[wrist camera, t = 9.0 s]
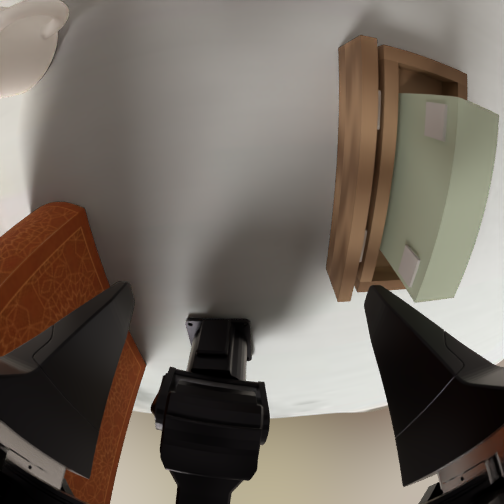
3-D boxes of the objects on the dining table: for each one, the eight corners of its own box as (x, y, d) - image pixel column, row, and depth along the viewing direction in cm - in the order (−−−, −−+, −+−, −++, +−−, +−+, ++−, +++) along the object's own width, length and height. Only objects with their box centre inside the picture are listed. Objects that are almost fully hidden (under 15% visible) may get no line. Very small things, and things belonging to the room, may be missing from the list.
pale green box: (411, 245, 20) (453, 297, 14) (375, 245, 20) (412, 303, 14) (433, 103, 14) (498, 114, 8) (392, 92, 14) (455, 96, 8)
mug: (98, -18, 10) (22, -51, 1) (96, 58, 14) (-1, 52, 5) (7, 39, 10) (-65, 45, 1) (7, 106, 14) (-71, 132, 6)
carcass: (427, 264, 23) (448, 292, 19) (325, 268, 23) (337, 301, 19) (456, 80, 14) (491, 82, 10) (338, 48, 14) (360, 34, 10)
